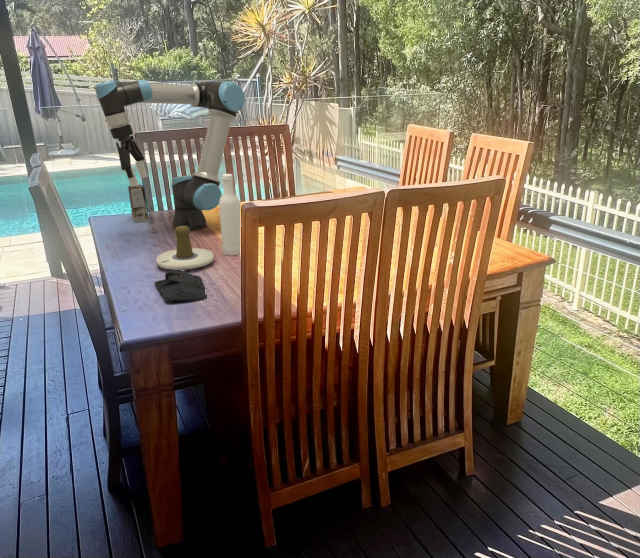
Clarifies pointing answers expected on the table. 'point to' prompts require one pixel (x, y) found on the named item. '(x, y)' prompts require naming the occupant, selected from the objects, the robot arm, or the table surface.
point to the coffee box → (138, 203)
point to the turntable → (172, 262)
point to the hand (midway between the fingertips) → (139, 181)
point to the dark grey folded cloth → (181, 286)
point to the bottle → (229, 218)
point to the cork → (183, 242)
